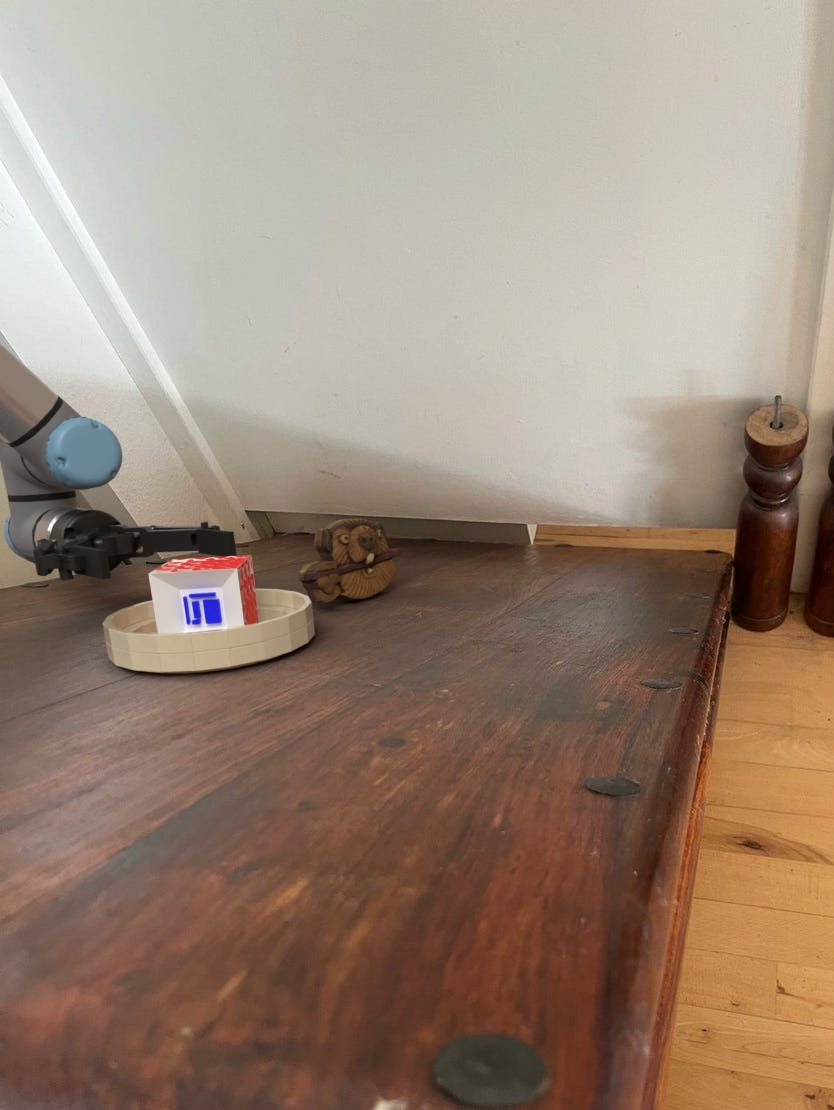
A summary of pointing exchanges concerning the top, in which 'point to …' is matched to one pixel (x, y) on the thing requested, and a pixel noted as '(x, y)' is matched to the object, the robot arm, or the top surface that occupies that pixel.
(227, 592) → the red boxy piece
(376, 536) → the wooden carving
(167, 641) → the bowl
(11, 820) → the top surface
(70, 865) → the top surface
